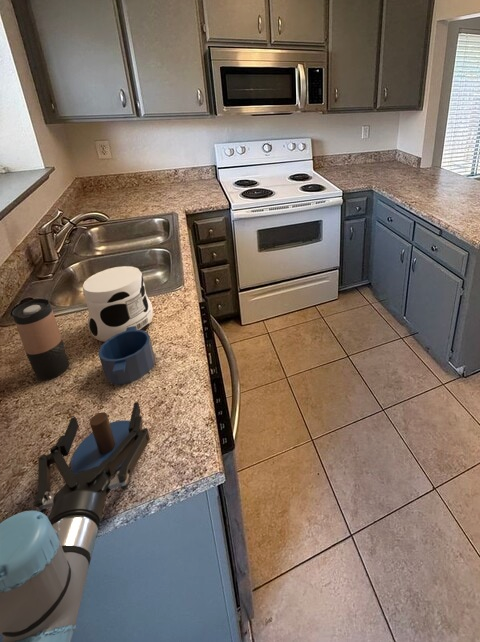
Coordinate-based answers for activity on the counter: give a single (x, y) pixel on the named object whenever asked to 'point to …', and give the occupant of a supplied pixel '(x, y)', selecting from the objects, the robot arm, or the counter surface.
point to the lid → (99, 443)
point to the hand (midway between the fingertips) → (107, 414)
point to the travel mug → (41, 338)
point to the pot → (127, 356)
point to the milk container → (116, 302)
